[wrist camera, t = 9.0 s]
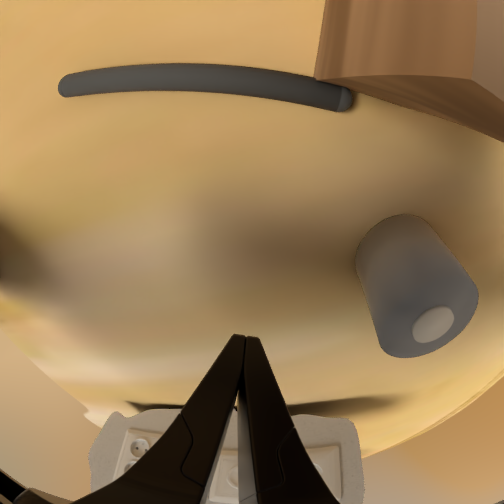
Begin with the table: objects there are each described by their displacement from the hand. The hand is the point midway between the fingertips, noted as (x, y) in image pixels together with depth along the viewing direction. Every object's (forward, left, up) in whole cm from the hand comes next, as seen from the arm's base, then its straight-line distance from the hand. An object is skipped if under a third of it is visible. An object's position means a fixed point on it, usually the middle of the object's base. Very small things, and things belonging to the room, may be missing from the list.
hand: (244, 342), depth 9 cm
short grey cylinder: (+8, 0, -6) cm, 10 cm away
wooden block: (+3, +10, -6) cm, 12 cm away
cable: (-4, +7, -6) cm, 11 cm away
